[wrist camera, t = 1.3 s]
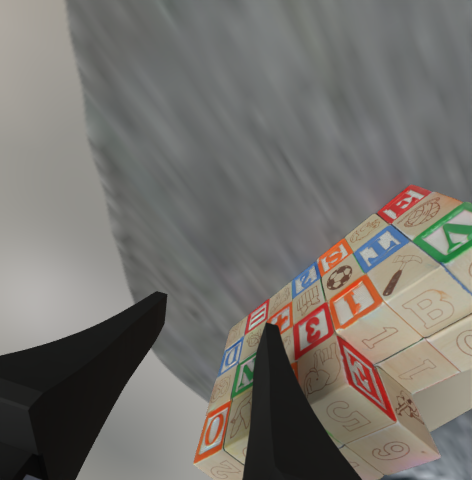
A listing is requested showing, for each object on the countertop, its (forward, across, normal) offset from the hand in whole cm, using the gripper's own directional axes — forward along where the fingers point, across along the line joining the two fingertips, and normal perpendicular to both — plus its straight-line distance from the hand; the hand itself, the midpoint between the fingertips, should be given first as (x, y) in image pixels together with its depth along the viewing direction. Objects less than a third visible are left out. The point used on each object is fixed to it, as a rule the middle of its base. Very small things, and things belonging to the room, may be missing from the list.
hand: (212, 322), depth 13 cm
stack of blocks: (+11, -8, +2) cm, 14 cm away
